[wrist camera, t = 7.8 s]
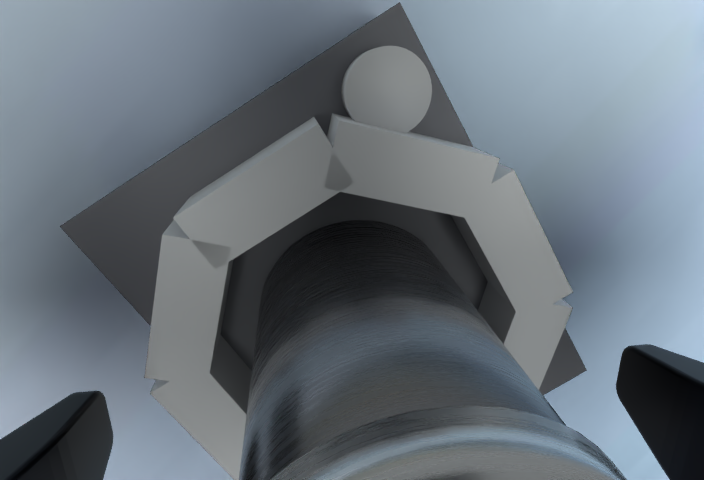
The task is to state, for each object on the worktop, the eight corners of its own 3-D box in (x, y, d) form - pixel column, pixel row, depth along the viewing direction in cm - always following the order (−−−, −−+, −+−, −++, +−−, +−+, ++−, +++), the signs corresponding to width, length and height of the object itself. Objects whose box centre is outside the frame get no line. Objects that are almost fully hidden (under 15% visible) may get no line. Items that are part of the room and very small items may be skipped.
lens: (461, 207, 10) (889, 561, 3) (450, 386, 12) (710, 904, 5) (242, 219, 10) (106, 680, 2) (261, 405, 12) (212, 1020, 4)
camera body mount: (542, 321, 15) (628, 406, 11) (318, 452, 15) (326, 574, 12) (381, 13, 11) (425, -15, 8) (101, 198, 12) (15, 255, 8)
